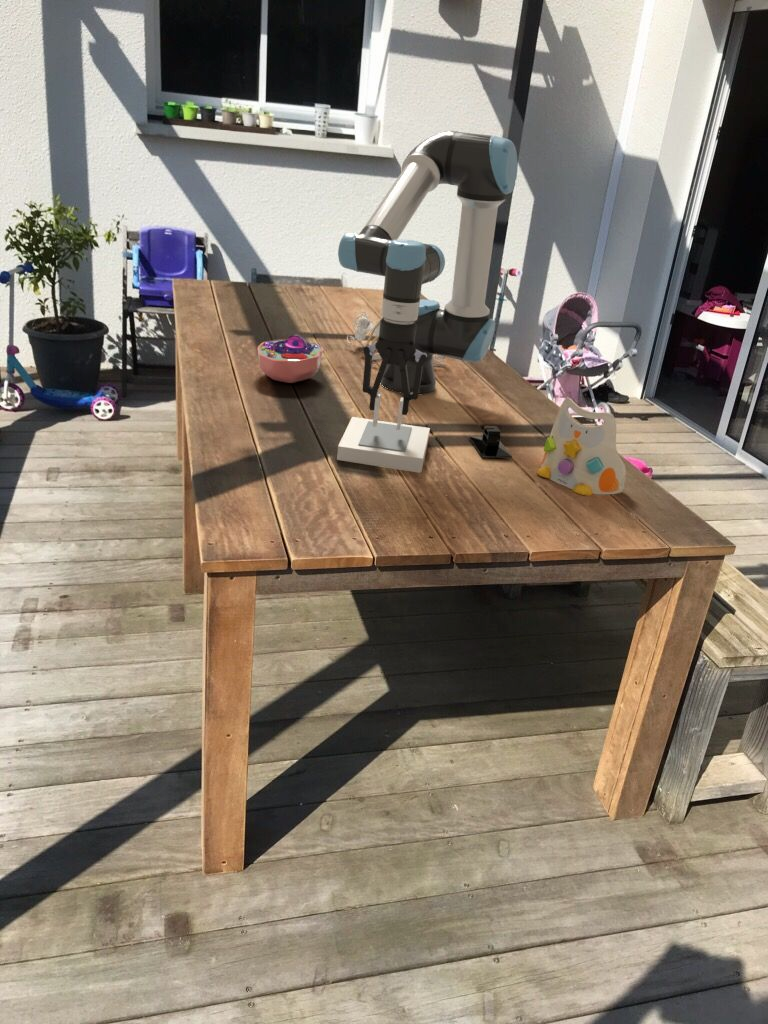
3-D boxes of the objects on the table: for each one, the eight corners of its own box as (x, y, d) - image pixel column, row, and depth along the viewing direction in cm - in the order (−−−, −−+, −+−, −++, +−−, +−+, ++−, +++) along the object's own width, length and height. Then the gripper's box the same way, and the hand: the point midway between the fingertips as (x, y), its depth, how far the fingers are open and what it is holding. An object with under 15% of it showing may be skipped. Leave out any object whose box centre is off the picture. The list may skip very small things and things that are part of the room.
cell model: (240, 380, 216) (241, 338, 211) (283, 363, 233) (285, 323, 227) (294, 396, 210) (297, 353, 205) (335, 378, 226) (338, 337, 221)
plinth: (350, 433, 192) (352, 415, 190) (427, 444, 191) (430, 426, 189) (336, 463, 176) (338, 444, 174) (420, 476, 175) (423, 457, 173)
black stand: (468, 437, 197) (470, 419, 195) (497, 438, 198) (500, 420, 196) (482, 457, 186) (485, 437, 184) (513, 457, 187) (516, 438, 185)
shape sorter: (520, 470, 184) (535, 394, 175) (548, 460, 190) (563, 386, 182) (597, 504, 172) (617, 424, 164) (623, 492, 179) (643, 415, 171)
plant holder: (371, 387, 236) (379, 334, 227) (334, 334, 262) (339, 285, 253) (459, 382, 246) (470, 332, 237) (415, 332, 272) (423, 285, 262)
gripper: (353, 318, 167) (344, 426, 178) (440, 330, 166) (425, 438, 177) (359, 309, 174) (349, 414, 185) (442, 321, 173) (428, 425, 183)
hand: (386, 425), depth 181 cm, fingers open, 4 cm apart
